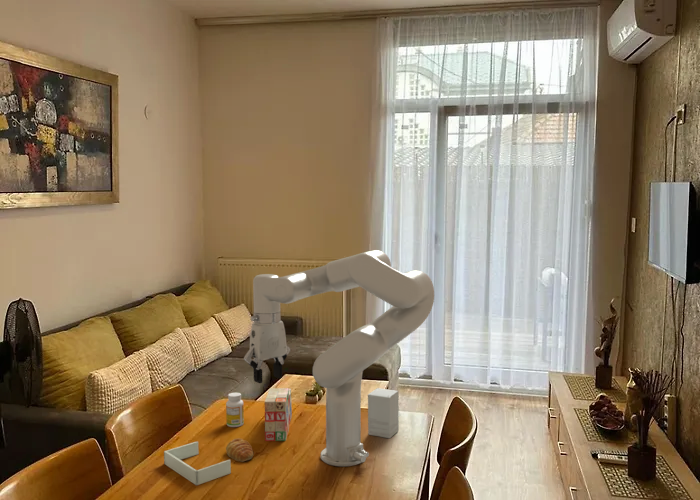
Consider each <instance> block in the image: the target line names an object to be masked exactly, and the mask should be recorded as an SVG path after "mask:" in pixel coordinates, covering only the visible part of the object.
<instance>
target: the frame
mask: <svg viewBox="0 0 700 500" xmlns="http://www.w3.org/2000/svg"><path fill="white" fill-rule="evenodd" d="M197 455H199V441H194V442H190V443H187V444H184V445H180V446H177V447H174V448H171V449H168V450H164V451H163V460H164V463H163V464H164V465H166V466H167V467H168V468H170V469H171V470H173V472H176V473H177V474H179V475H180V476H181V477H183V478H185V479H186V480H188V481H189V482H191V483H192V484H193V485H195V486H199V485H201V484H204V483H207V482H211V481H212V480H215V479H217V478H218V479H219V478H221V477H224V476H227V475H229V474H231V472H232V471H231V470H232V467H231V459H227V460H224V461H221V462H217V463H215V464H212V465H209V466H205V467H202V468H200V469H195V468H194V467H192V466H191V465H190V464H188V463H186V462H184V461H183V460H184V459H188V458H191V457H194V456H197Z"/></svg>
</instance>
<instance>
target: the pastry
mask: <svg viewBox="0 0 700 500" xmlns="http://www.w3.org/2000/svg"><path fill="white" fill-rule="evenodd" d="M225 451H226V452H225V453H226V455H227V456H228V457H229V458H230V459H232V460H235V461H236V462H242V463H244V462H245V461H250V460H252V459H253V457H254V451H253V448H252V445H251V444H250V442H249V441H248V440H245V439H243V438H234V439H232V440H231V441H229V442H228V443H227V445H226V447H225Z"/></svg>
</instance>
